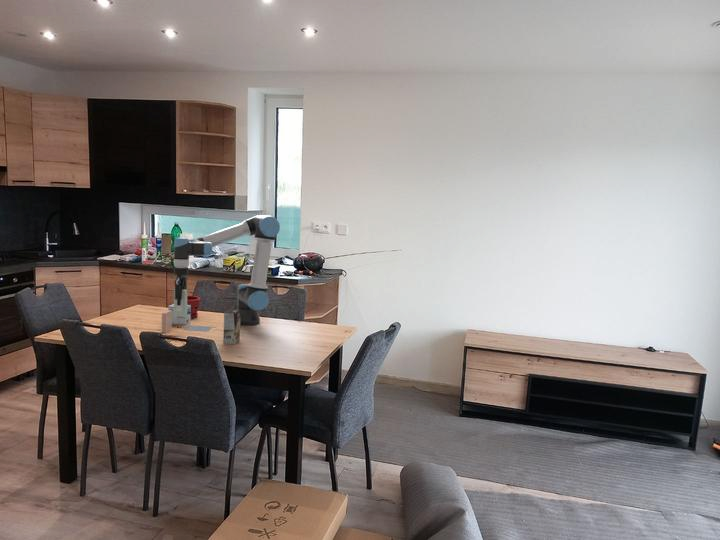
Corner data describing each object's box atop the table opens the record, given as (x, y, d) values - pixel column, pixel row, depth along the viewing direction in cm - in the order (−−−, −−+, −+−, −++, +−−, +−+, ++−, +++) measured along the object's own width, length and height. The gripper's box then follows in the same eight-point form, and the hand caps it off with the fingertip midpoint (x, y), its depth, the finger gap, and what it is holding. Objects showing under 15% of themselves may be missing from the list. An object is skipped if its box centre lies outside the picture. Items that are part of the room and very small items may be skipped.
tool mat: (213, 327, 309) (213, 326, 308) (207, 332, 297) (207, 331, 297) (188, 326, 309) (188, 325, 309) (181, 331, 297) (181, 330, 297)
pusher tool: (187, 315, 294) (187, 289, 293) (184, 316, 291) (185, 290, 289) (175, 314, 294) (176, 289, 293) (173, 316, 291) (174, 290, 289)
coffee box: (235, 344, 276) (236, 313, 274) (222, 343, 276) (223, 312, 274) (240, 340, 285) (240, 309, 283) (227, 339, 285) (228, 309, 283)
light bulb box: (190, 323, 316) (191, 304, 315) (185, 325, 310) (186, 307, 308) (173, 321, 317) (173, 303, 316) (167, 324, 311) (168, 305, 309)
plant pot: (172, 317, 329) (172, 297, 327) (186, 313, 341) (187, 294, 339) (189, 320, 324) (190, 300, 323) (204, 316, 336) (204, 297, 335)
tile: (171, 330, 298) (171, 310, 297) (165, 334, 289) (165, 313, 288) (167, 329, 298) (167, 310, 297) (161, 333, 289) (161, 313, 288)
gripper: (179, 264, 298) (178, 307, 300) (168, 268, 281) (168, 313, 284) (193, 265, 298) (192, 307, 300) (183, 269, 281) (182, 313, 284)
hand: (180, 310), depth 292 cm, fingers closed on pusher tool, 3 cm apart
